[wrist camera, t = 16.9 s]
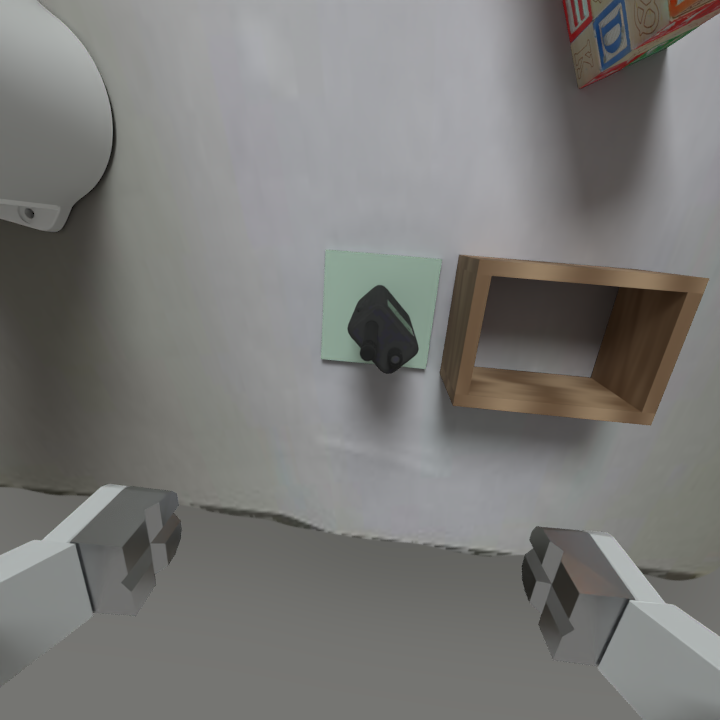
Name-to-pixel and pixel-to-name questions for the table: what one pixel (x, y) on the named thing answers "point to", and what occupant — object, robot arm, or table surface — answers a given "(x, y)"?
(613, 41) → the stack of blocks
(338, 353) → the place mat
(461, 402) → the access box
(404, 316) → the walkie-talkie
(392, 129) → the table surface
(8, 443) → the table surface
